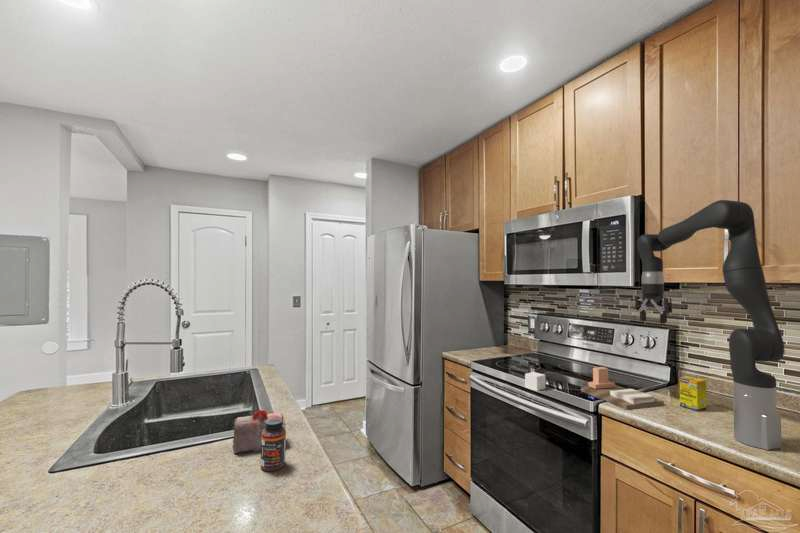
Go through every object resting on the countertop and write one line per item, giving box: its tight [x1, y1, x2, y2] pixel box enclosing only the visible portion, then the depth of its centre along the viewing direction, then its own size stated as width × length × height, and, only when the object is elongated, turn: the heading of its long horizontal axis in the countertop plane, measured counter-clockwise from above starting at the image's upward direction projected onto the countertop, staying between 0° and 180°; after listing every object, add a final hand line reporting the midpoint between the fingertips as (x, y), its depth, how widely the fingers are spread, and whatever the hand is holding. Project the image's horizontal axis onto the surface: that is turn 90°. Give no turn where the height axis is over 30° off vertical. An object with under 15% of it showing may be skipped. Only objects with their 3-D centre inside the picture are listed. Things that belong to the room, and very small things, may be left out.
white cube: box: [524, 371, 546, 392], centre depth 160 cm, size 6×6×6 cm
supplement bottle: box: [260, 418, 287, 472], centre depth 93 cm, size 6×6×11 cm
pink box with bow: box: [232, 409, 287, 454], centre depth 104 cm, size 14×8×10 cm, turn 115°
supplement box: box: [679, 375, 707, 412], centre depth 137 cm, size 6×6×11 cm
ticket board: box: [580, 384, 665, 410], centre depth 147 cm, size 22×18×4 cm
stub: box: [587, 366, 616, 389], centre depth 156 cm, size 4×10×8 cm, turn 106°
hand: (652, 322), depth 150 cm, fingers open, 8 cm apart
